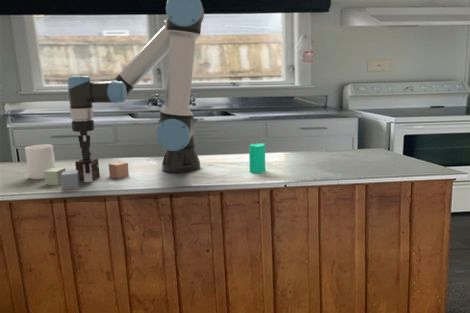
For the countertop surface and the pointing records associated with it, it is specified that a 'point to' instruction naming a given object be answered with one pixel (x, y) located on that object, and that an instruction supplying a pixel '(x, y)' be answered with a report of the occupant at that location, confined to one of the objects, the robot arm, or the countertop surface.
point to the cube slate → (70, 179)
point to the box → (93, 167)
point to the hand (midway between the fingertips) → (87, 177)
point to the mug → (39, 160)
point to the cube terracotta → (118, 169)
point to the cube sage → (53, 176)
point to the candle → (257, 158)
